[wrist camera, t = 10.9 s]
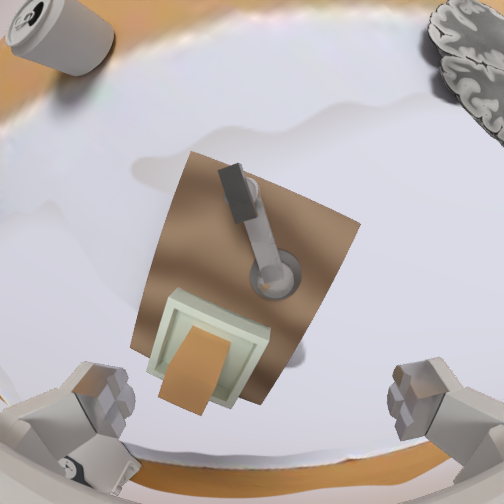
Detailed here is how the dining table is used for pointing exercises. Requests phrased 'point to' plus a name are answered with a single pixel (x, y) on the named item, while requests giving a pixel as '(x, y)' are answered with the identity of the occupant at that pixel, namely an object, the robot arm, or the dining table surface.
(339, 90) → the dining table surface
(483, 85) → the brain slice
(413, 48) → the dining table surface
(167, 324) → the tray
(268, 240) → the crank
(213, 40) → the dining table surface
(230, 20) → the dining table surface
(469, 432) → the robot arm
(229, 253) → the mechanism board
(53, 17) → the can
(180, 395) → the block
